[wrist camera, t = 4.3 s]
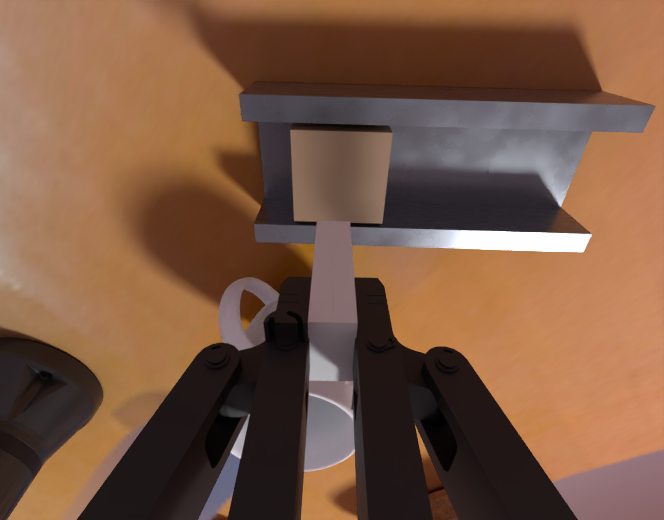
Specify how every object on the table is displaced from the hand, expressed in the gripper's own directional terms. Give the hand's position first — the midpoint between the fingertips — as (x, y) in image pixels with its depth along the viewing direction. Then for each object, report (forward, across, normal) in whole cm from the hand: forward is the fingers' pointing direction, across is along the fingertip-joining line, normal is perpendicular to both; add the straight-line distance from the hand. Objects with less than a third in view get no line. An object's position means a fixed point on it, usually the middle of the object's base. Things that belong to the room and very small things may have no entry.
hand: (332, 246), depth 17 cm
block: (+13, 0, 0) cm, 13 cm away
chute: (+13, +6, 0) cm, 15 cm away
